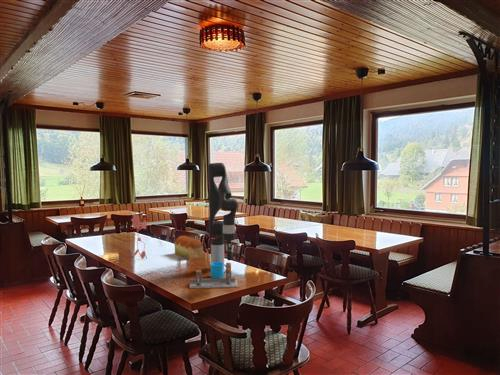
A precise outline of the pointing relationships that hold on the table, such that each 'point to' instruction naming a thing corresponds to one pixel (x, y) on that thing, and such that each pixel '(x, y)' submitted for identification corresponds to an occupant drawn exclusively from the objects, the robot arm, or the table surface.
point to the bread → (188, 247)
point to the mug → (217, 270)
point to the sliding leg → (228, 271)
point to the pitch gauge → (211, 282)
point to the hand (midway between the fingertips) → (228, 258)
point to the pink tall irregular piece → (136, 225)
